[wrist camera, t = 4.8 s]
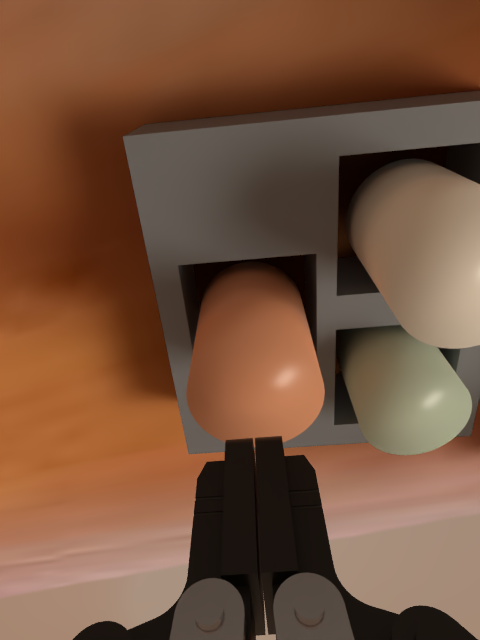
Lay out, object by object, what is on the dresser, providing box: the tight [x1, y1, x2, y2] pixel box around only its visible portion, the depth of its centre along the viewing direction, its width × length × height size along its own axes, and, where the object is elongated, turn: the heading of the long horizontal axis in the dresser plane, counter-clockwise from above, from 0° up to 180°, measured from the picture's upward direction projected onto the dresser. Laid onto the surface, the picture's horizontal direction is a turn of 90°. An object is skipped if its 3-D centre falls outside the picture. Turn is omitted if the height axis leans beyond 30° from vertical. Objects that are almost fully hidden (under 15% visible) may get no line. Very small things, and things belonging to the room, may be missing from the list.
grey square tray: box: [123, 90, 480, 454], centre depth 20 cm, size 14×15×4 cm
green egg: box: [335, 325, 472, 455], centre depth 20 cm, size 4×4×6 cm
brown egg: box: [186, 262, 325, 447], centre depth 17 cm, size 4×4×6 cm
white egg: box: [346, 159, 480, 349], centre depth 15 cm, size 4×4×6 cm
